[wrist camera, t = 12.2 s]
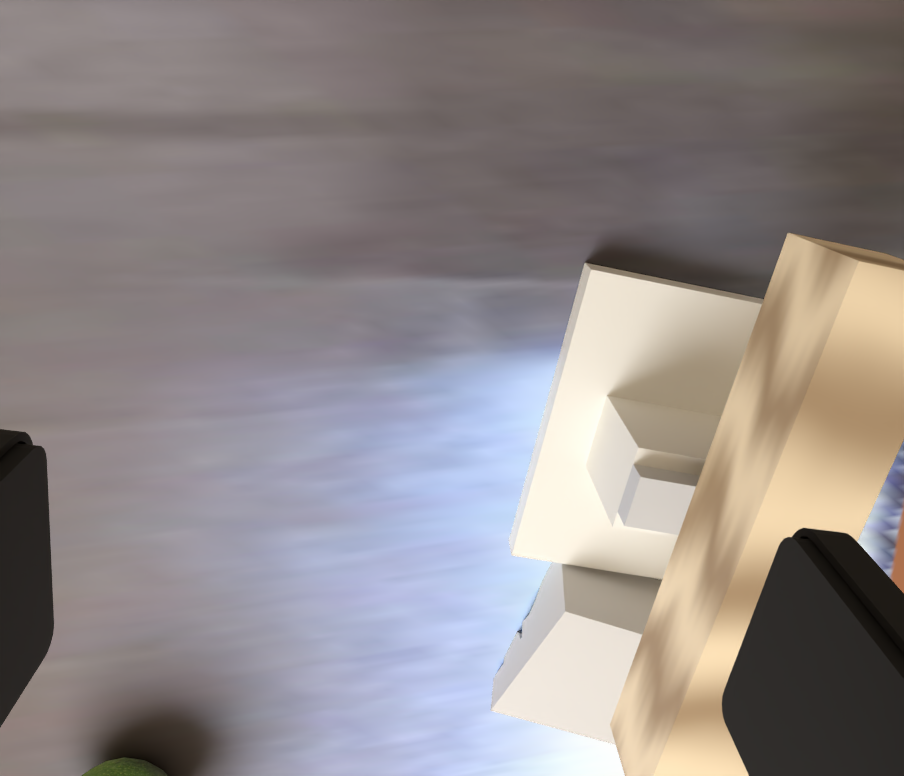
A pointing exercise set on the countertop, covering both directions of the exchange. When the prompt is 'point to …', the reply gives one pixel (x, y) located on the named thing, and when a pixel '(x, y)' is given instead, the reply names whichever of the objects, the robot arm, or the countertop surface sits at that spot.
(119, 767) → the fruit
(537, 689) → the white flat block
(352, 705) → the countertop surface
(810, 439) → the beech batten
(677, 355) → the balance stand
